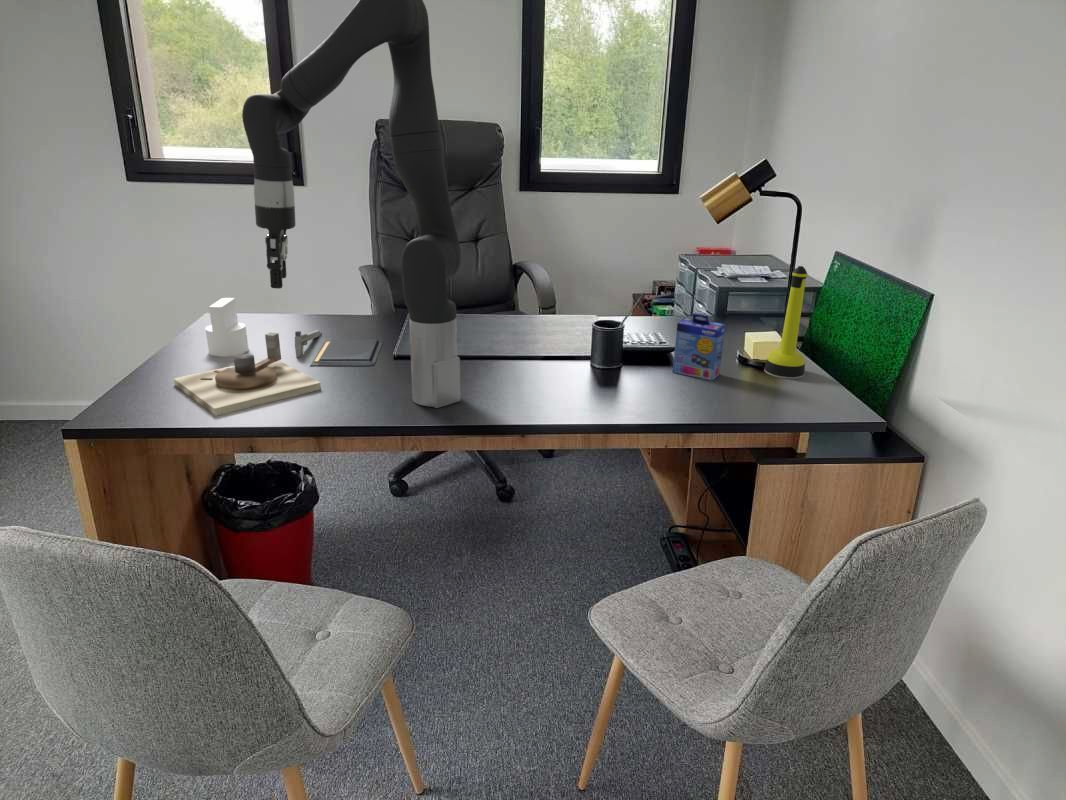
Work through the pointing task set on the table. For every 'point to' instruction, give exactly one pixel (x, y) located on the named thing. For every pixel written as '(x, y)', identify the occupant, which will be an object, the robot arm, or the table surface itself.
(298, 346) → the caliper
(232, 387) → the dial
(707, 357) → the ink cartridge box
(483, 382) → the table surface
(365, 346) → the dark grey flat block
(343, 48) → the robot arm
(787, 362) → the flashlight
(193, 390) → the dial board
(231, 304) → the cylinder with rectangular tab
